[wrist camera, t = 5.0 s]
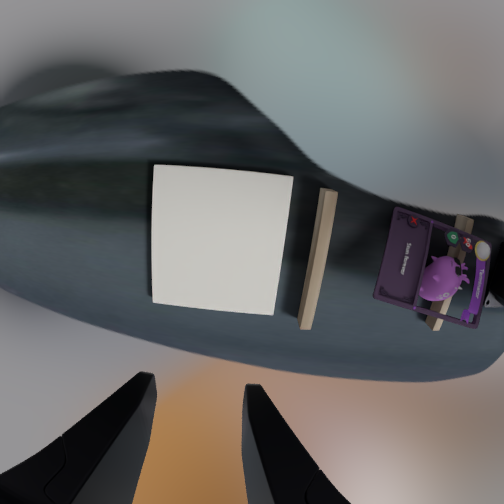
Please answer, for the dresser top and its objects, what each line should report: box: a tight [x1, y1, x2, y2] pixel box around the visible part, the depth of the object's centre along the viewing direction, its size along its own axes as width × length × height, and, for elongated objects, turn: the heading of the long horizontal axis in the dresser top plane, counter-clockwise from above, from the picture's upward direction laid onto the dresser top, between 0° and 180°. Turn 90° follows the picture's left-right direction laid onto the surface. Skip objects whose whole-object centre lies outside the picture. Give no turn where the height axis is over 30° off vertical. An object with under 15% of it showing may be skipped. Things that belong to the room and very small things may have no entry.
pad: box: [152, 164, 293, 315], centre depth 20 cm, size 9×10×1 cm
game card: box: [373, 207, 492, 329], centre depth 20 cm, size 7×5×9 cm
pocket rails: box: [297, 188, 474, 331], centre depth 20 cm, size 13×10×2 cm
